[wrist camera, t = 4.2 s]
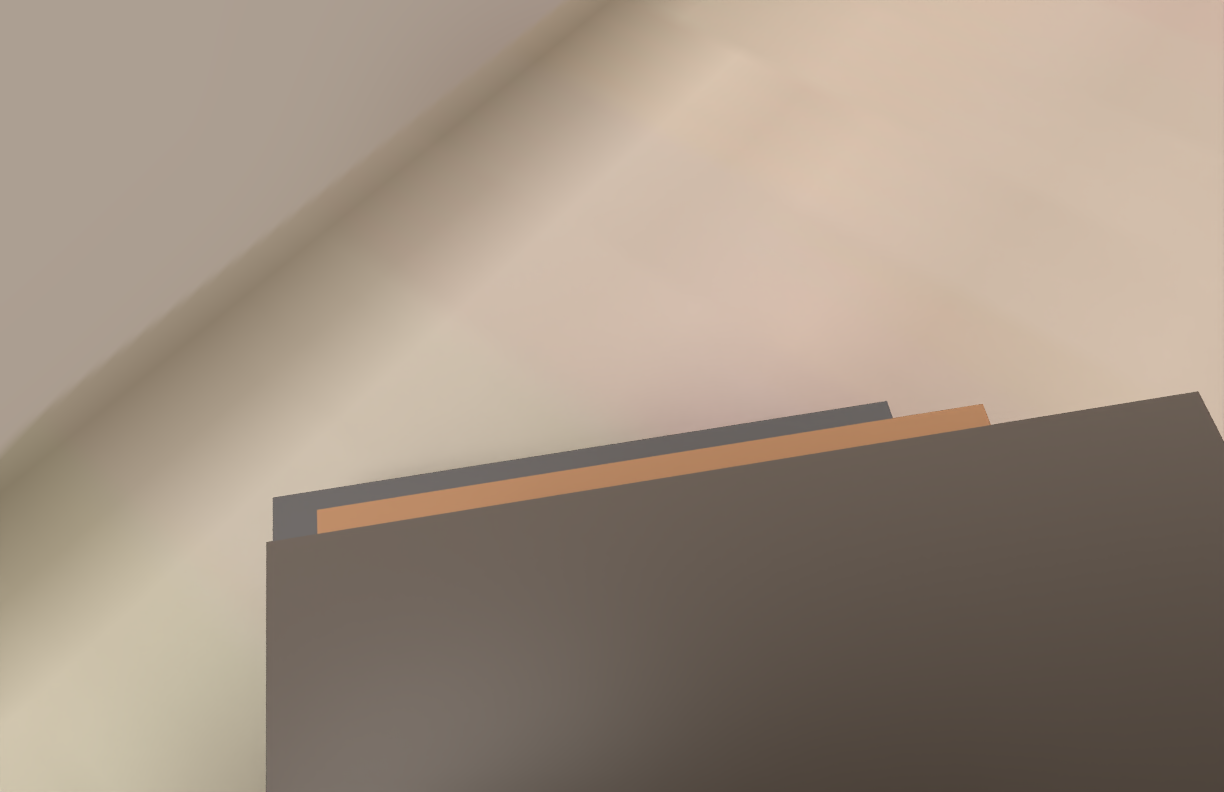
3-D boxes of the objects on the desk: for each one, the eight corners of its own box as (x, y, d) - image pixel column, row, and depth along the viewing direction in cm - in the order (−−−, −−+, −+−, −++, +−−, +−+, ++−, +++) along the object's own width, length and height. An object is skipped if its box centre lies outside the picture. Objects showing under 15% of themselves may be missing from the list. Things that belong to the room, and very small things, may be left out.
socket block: (1011, 1065, 13) (1149, 1181, 10) (360, 1220, 12) (274, 1403, 9) (832, 460, 17) (887, 400, 14) (336, 540, 16) (272, 497, 13)
